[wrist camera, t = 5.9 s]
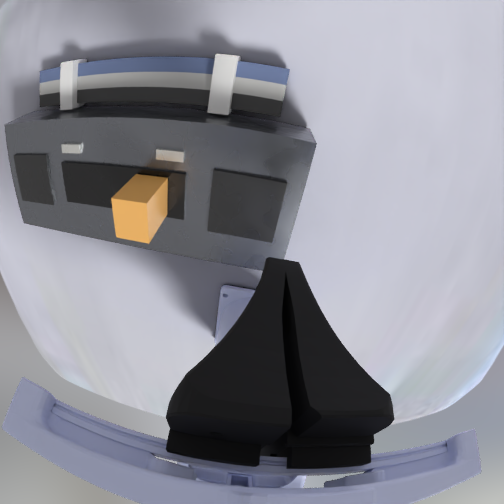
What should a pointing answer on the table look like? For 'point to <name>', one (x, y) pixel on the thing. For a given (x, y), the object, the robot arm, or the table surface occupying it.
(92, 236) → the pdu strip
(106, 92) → the cords
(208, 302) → the table surface
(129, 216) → the lever
